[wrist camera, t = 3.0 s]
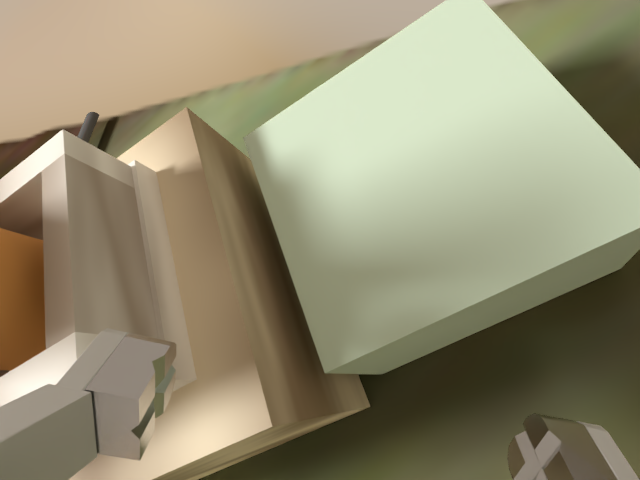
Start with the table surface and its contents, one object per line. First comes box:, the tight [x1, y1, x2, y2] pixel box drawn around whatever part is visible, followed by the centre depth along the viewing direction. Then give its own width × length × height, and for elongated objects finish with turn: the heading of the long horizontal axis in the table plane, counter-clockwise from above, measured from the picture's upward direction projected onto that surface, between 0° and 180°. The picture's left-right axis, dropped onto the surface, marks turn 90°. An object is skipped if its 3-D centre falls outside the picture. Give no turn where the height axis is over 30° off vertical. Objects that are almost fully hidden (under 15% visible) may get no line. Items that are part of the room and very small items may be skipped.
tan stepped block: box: [0, 107, 370, 480], centre depth 16 cm, size 12×12×12 cm
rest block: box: [243, 0, 640, 375], centre depth 16 cm, size 10×10×6 cm
